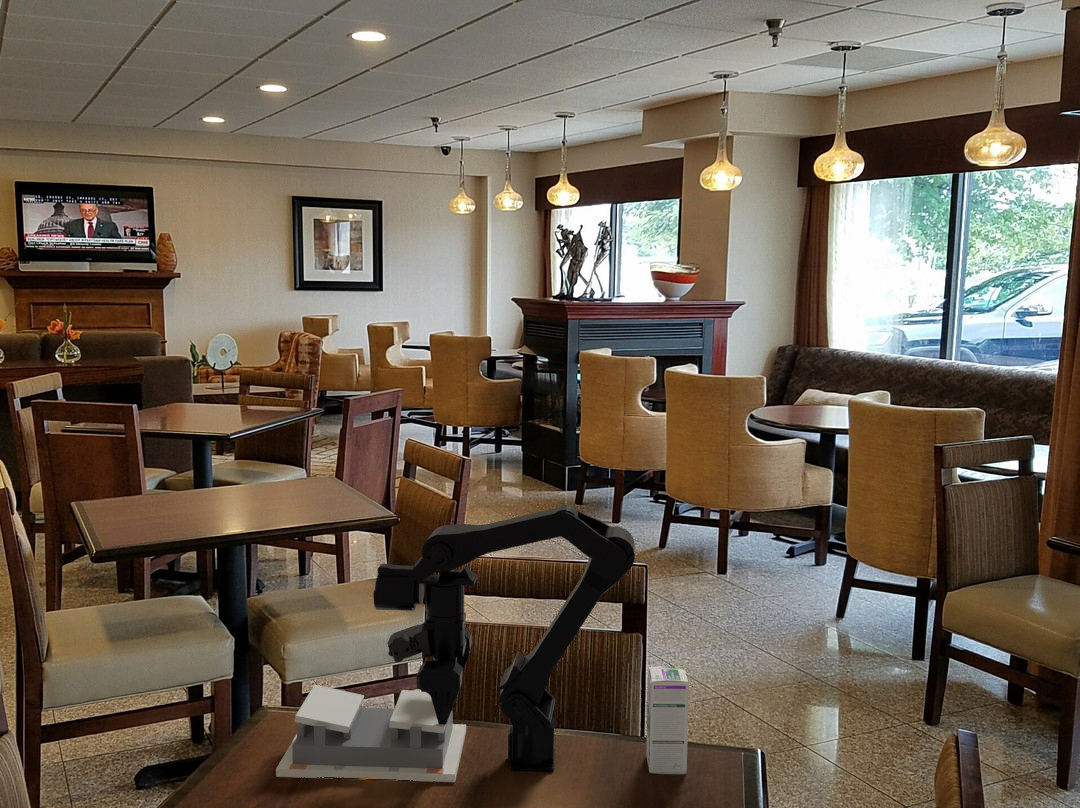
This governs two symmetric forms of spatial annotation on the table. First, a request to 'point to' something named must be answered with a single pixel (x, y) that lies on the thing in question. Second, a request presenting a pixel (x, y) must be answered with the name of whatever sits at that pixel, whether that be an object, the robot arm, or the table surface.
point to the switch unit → (374, 750)
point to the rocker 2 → (415, 712)
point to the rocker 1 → (330, 708)
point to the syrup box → (667, 720)
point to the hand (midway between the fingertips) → (446, 710)
